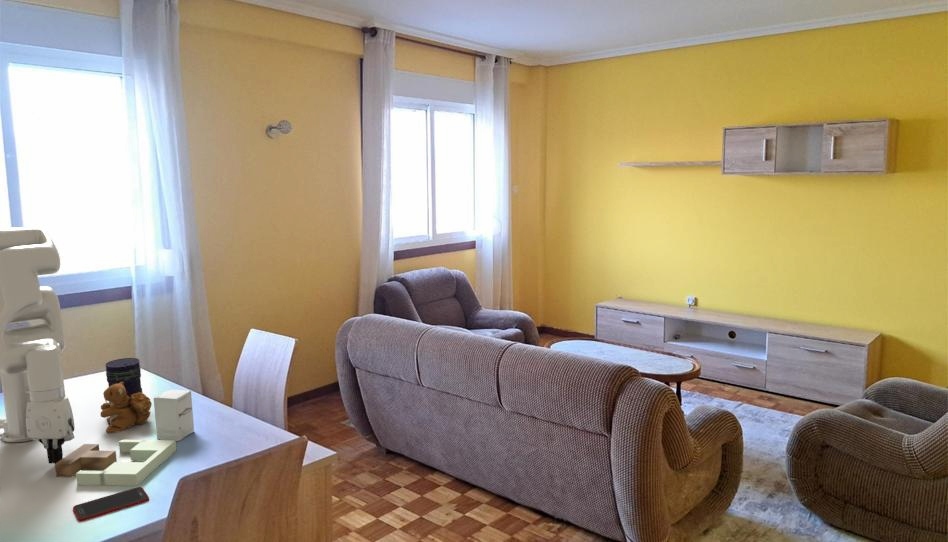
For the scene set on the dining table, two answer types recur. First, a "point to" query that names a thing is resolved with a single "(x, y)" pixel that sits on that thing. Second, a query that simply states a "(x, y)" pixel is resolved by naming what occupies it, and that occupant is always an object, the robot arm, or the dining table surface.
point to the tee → (85, 460)
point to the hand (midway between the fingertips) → (55, 461)
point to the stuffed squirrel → (124, 408)
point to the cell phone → (110, 503)
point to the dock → (131, 463)
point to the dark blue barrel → (125, 374)
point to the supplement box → (173, 415)
